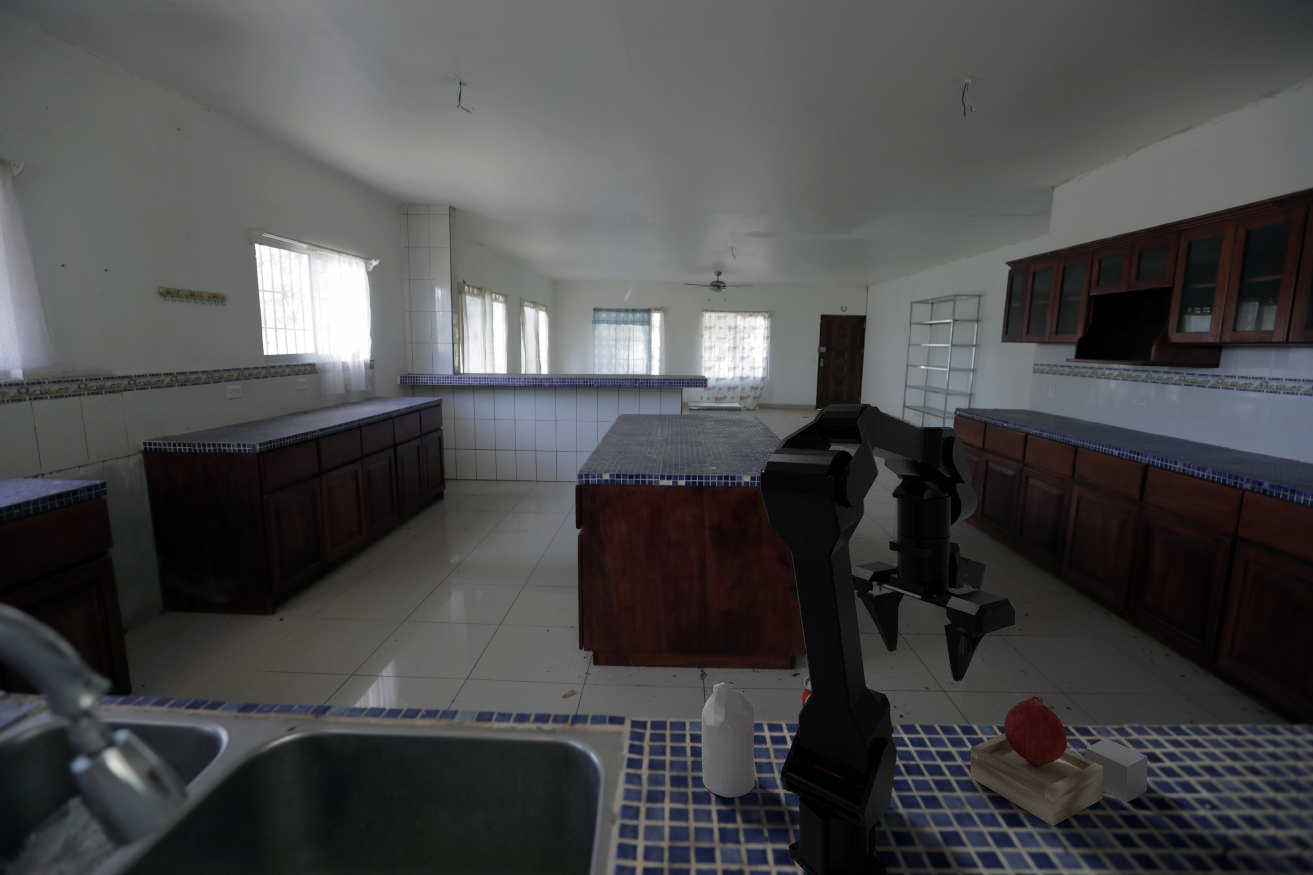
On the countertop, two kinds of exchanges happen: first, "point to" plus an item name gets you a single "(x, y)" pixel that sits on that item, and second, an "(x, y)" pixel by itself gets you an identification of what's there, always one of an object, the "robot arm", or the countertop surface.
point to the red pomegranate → (1035, 732)
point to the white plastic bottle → (728, 743)
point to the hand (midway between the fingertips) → (923, 664)
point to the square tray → (1038, 780)
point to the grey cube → (1120, 769)
